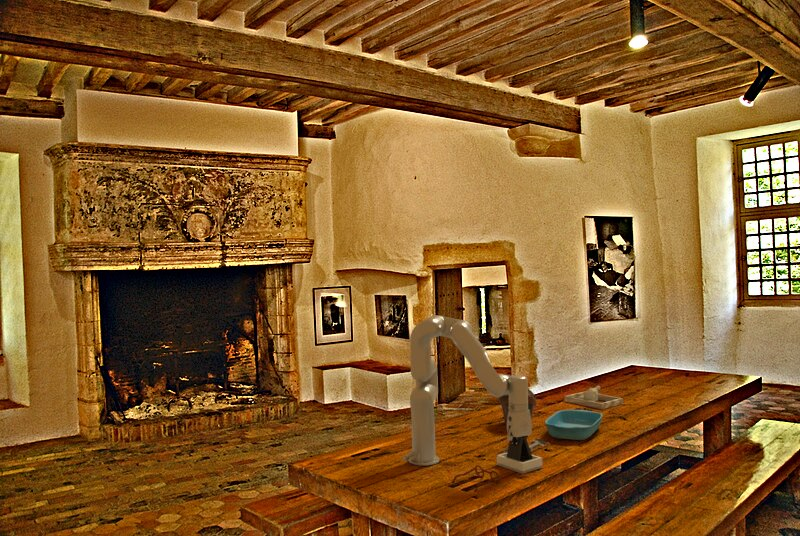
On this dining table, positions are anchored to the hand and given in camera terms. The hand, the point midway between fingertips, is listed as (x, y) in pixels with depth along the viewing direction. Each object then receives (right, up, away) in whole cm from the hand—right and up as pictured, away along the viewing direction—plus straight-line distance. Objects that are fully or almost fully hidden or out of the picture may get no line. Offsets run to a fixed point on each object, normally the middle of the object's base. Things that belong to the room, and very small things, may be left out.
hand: (519, 452), depth 279 cm
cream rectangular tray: (0, -6, 0) cm, 6 cm away
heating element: (+7, -5, +21) cm, 23 cm away
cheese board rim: (+59, -1, +106) cm, 121 cm away
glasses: (-19, -7, -18) cm, 28 cm away
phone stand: (0, -3, 0) cm, 3 cm away
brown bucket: (+11, -3, +65) cm, 66 cm away
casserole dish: (+34, -4, +48) cm, 59 cm away
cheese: (+58, -1, +108) cm, 122 cm away
